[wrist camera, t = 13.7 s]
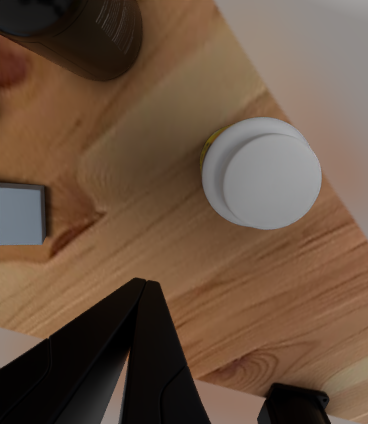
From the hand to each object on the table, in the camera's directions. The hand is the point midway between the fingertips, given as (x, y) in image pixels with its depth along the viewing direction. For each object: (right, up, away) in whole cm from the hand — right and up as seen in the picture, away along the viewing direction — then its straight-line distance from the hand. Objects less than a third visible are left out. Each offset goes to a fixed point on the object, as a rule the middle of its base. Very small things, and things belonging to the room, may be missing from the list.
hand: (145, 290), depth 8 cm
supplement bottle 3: (+5, +7, +11) cm, 14 cm away
